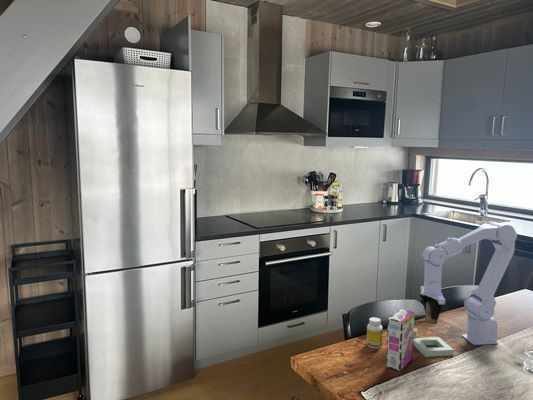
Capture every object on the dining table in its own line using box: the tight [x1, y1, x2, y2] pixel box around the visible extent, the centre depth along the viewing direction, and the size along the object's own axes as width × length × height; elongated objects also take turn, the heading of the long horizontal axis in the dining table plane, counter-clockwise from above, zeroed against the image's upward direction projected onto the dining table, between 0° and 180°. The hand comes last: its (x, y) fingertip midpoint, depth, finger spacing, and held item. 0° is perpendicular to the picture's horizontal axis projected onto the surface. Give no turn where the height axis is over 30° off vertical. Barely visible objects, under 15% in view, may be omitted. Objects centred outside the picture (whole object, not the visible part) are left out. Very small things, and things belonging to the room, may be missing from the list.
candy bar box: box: [386, 308, 415, 372], centre depth 132 cm, size 11×5×16 cm, turn 141°
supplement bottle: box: [366, 316, 383, 349], centre depth 145 cm, size 5×5×10 cm
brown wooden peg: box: [425, 302, 438, 325], centre depth 147 cm, size 4×4×7 cm
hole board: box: [413, 336, 455, 358], centre depth 142 cm, size 10×10×2 cm
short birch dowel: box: [413, 328, 419, 338], centre depth 149 cm, size 4×4×4 cm
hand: (431, 316), depth 147 cm, fingers closed on brown wooden peg, 4 cm apart
